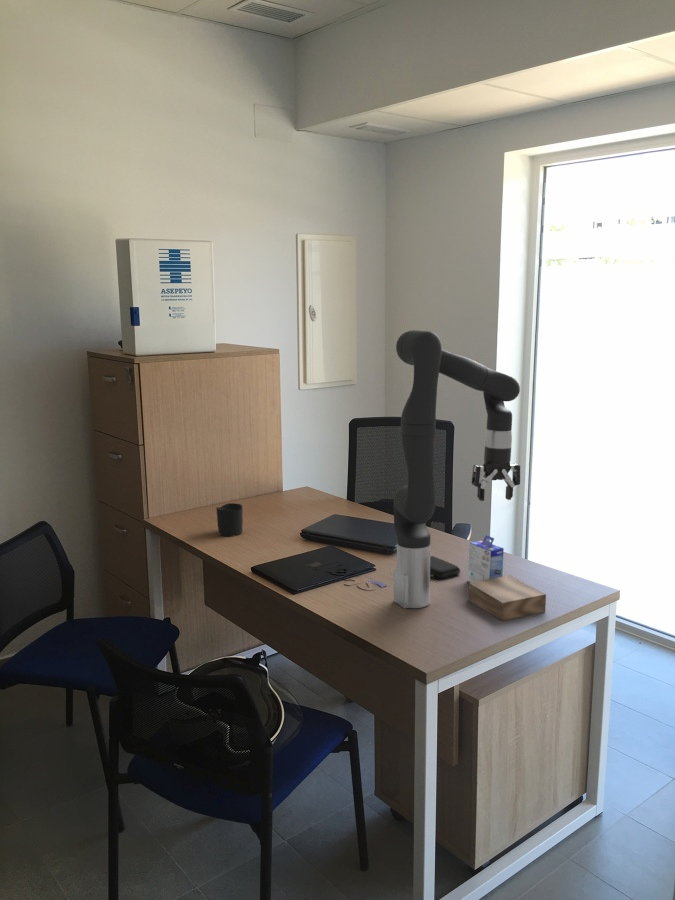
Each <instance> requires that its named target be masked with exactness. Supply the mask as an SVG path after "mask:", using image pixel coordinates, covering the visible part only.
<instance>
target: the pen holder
mask: <svg viewBox="0 0 675 900" xmlns="http://www.w3.org/2000/svg"><path fill="white" fill-rule="evenodd" d="M243 509H244V508H243V505H242V504H240V503H235V502H234V503H231V502H230V503H226V504H223V505H221V506H220V507H218V506H217V507H216V517H217V518H216V519H217V531H218V534H219V535H220V536H222V535H224V536H223V537H234V536H233V535H236V536H239V535H241V534H242V533H243V511H244V510H243ZM240 533H241V534H240ZM238 534H239V535H238Z"/></svg>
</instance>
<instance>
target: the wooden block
mask: <svg viewBox="0 0 675 900" xmlns="http://www.w3.org/2000/svg"><path fill="white" fill-rule="evenodd" d="M546 600H547V594H546V593H545V592H542V591H540V590H539V589H538V588H535V587H534V586H531V585H529V584H527V583H525V582H524V581H521V580H519V578H517V577H514V576H512V575H505V576H504V575H503V576H502V577H498V578H493V579H487V580H482V581H477V582H468V601H470V602H471V603H473V604H475V605H476V606H478V607H479V608H481V609H483V610H484V611H486V612H488V613H489V614H491V615H493V616H494V617H496V618H498V619H499V620H501V621H508V620H512V619H517V618H521V617H523V618H524V617H526V616H532V615H536V614H541V613H545V612H546V604H547V601H546Z"/></svg>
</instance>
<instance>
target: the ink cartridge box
mask: <svg viewBox="0 0 675 900" xmlns="http://www.w3.org/2000/svg"><path fill="white" fill-rule="evenodd" d="M487 539H488V540H490V541H488V540H487ZM494 541H495V538H494V537H492V536H490V535H487V534H486V535H485V536H484V538H483V540H481V539H480V540H476V541H472V542H469V543H468V556H467V557H468V560H467V582H468V583H471V582H477V581H482V580H487V579H493V578H498V577H503V572H504V566H503V565H504V551H505V550H504V547H501V546H498V545H496V544H493V543H494Z"/></svg>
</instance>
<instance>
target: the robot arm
mask: <svg viewBox="0 0 675 900" xmlns="http://www.w3.org/2000/svg"><path fill="white" fill-rule="evenodd" d="M395 348H396V349H395V351H396V353H397V356H398V358H399V359H400V360H401V361H402V362H403V363H405V364H407V365H410V366H413V381H412V387H411V391H410V394H409V396H408V398H407V400H406V403H405V404H404V406H403V409H402V411H401V418H400V444H401V449H402V453H403V458H404V461H405V465H406V469H407V484H406V485H405V484H404V485H402V487H400V488H399V489H398V490H397V491H396V493H395V496H394V498H393V499H394V500H393V528H394V533H395V536H396V568H394V569H393V602H394V603H396V605H397V604H398V605H399V606H400V607H401V608H403V609H419V608H420V609H421V608H425V607H427V606H429V605H430V604H431V603H430V602H431V600H430V599H431V594H430V593H431V585H430V584H431V576H430V556H431V533H430V532H429V530H428V528H427V522H428V521H430V520H431V518H432V517H433V515H434V512H435V509H436V494H435V493H436V491H435V490H436V489H435V478H434V475H435V474H434V473H435V472H434V471H435V469H434V466H435V465H434V464H435V445H436V444H435V442H436V429H437V428H436V427H437V426H436V425H437V424H436V423H437V416H436V415H437V414H436V413H437V397H438V396H437V395H438V383H439V375H440V374H441V375H444V376H446V377H448V378H450V379H452V380H454V381H456V382H458V383H460V384H462V385H465V386H466V387H469V388H470V389H473V390H476V391H478V392H483V393H482V395H483V399H484V405H485V411H486V415H487V416H486V417H487V418H486V429H485V430H486V432H485V437H484V452H483V453H484V454H483V455H484V457H483V460H484V461H483V462H484V463H483V464H482V465H477V464H474V465H473V467H472V475H471V485H472V486H473V487H476V488H477V492H476V493H477V495H476V497H477V498H478V500H479V501H481V502H484V501H485V493H486V491H485V489H486V488H485V487H486V486H487V485H488V484H489V483H491V481H497V480H498V481H499V480H500V481H504V483H505V484H506V487H505V499H506V500H507V501H510V500H512V498H513V496H514V487H515V486H519V485H520V484H521V465H519V464H517V463H512V464H511V460H512V459H511V458H512V442H513V441H512V440H513V438H512V437H513V435H512V433H513V432H512V427H513V426H512V425H513V413H512V411H511V410H510V409H508V408H507V407H506V405H505V402H512V401H514V400H516V398H518V396H519V395H520V391H521V388H520V383H519V382H518V381H517V379H516V378H514V377H513V376H511V375H508V374H506V373H503V372H500V371H497V370H494V369H491V368H489V367H487V366H485V365H484V364H482V363H479V362H477V361H476V360H474V359H471V358H469V357H465V356H463V355H459V354H456V353H453V352H449V351H447V350H445V349H442V342H441V339H440V337H439V336H438V334H436V333H435V332H433V331H429V330H417V329H416V330H415V329H414V330H408V331H405V332H403V333H402V334H400V336H399V337H398V338H397V341H396V344H395ZM510 471H512V477H511V476H510V475H509V472H510ZM482 472H484V473H483V475H481V474H482Z"/></svg>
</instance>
